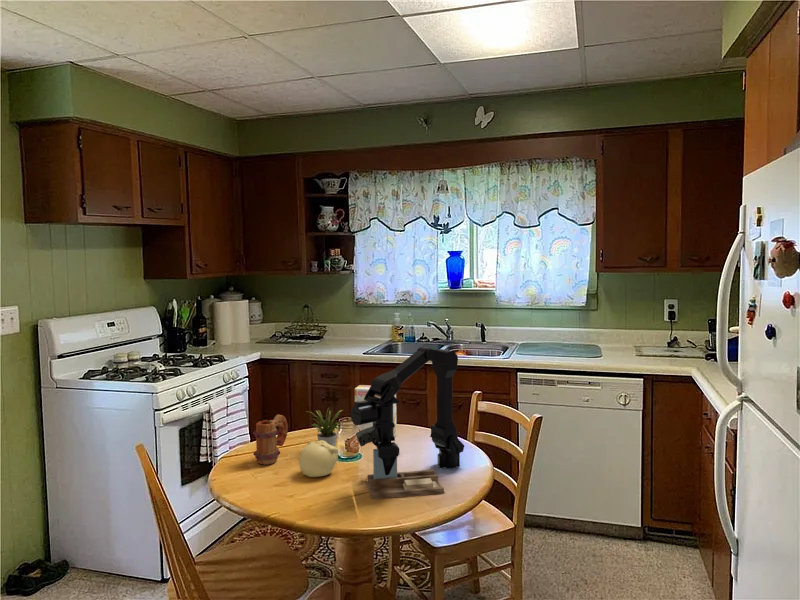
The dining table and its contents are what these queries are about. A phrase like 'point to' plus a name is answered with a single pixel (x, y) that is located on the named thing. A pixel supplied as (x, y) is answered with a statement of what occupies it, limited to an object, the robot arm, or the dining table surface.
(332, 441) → the house plant
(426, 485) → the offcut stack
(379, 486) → the rack
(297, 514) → the dining table surface
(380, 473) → the light blue block
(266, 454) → the mug
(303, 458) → the sculpture
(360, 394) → the coffeecake box
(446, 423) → the robot arm
